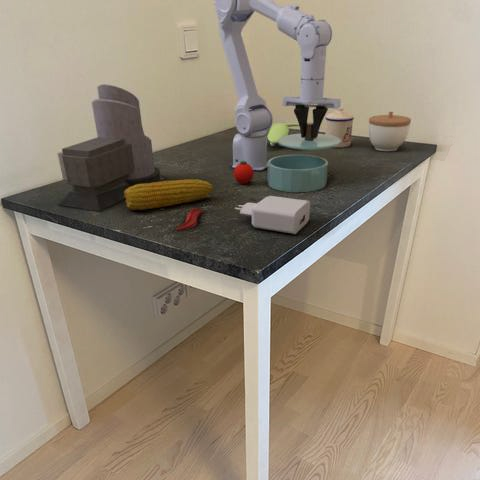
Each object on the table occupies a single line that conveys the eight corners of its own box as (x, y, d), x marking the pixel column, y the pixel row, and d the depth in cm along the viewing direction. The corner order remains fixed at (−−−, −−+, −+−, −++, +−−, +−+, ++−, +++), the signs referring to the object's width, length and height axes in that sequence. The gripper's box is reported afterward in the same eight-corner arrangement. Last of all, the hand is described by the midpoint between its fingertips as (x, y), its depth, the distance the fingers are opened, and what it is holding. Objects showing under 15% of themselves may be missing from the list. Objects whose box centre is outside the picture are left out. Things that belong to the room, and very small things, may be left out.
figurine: (319, 136, 172) (321, 119, 169) (300, 153, 151) (301, 135, 148) (271, 133, 178) (271, 117, 175) (245, 150, 157) (245, 132, 154)
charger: (246, 211, 108) (309, 220, 102) (227, 225, 101) (293, 236, 95) (246, 190, 106) (310, 199, 100) (226, 203, 99) (294, 213, 93)
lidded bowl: (411, 146, 156) (417, 110, 150) (399, 155, 147) (405, 116, 142) (373, 142, 162) (377, 107, 156) (360, 150, 153) (364, 113, 147)
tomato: (230, 184, 125) (229, 163, 122) (239, 179, 129) (238, 158, 126) (248, 187, 123) (248, 165, 120) (256, 181, 127) (256, 160, 124)
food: (131, 216, 107) (127, 190, 104) (124, 209, 111) (120, 183, 108) (216, 200, 115) (215, 175, 112) (207, 194, 119) (205, 169, 116)
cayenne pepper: (184, 231, 99) (183, 223, 98) (166, 228, 101) (165, 219, 99) (215, 213, 107) (214, 205, 106) (198, 210, 109) (197, 202, 108)
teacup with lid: (347, 149, 155) (351, 110, 149) (320, 147, 158) (322, 109, 152) (355, 141, 165) (359, 104, 158) (329, 139, 168) (332, 103, 161)
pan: (258, 188, 122) (258, 166, 119) (280, 172, 134) (280, 152, 131) (315, 195, 117) (317, 172, 114) (333, 178, 128) (335, 157, 125)
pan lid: (268, 148, 122) (268, 127, 119) (290, 135, 134) (291, 116, 131) (329, 154, 116) (331, 131, 113) (347, 140, 128) (349, 119, 125)
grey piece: (126, 171, 138) (112, 77, 125) (174, 177, 132) (165, 78, 119) (53, 204, 115) (26, 92, 102) (107, 212, 109) (86, 95, 96)
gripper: (278, 79, 116) (277, 138, 124) (336, 81, 111) (332, 142, 118) (289, 76, 122) (287, 133, 129) (345, 78, 116) (339, 137, 123)
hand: (309, 137), depth 124 cm, fingers closed on pan lid, 2 cm apart
